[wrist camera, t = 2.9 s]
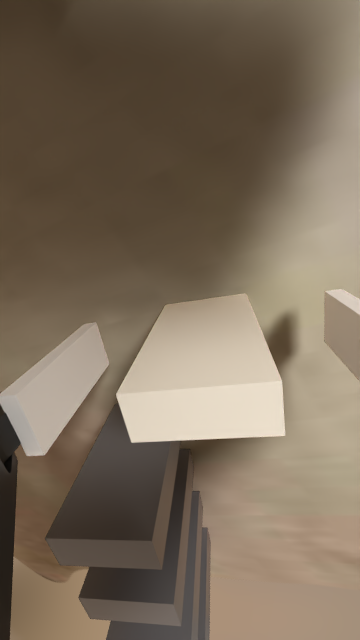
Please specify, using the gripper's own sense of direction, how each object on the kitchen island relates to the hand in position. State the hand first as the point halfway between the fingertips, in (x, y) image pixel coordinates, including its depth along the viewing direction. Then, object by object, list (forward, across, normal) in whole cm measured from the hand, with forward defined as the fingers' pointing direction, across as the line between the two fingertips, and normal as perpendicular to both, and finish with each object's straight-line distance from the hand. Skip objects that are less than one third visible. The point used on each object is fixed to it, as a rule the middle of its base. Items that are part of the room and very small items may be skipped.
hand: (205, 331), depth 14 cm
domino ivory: (+2, 0, 0) cm, 2 cm away
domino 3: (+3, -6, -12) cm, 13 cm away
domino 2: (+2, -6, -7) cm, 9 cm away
